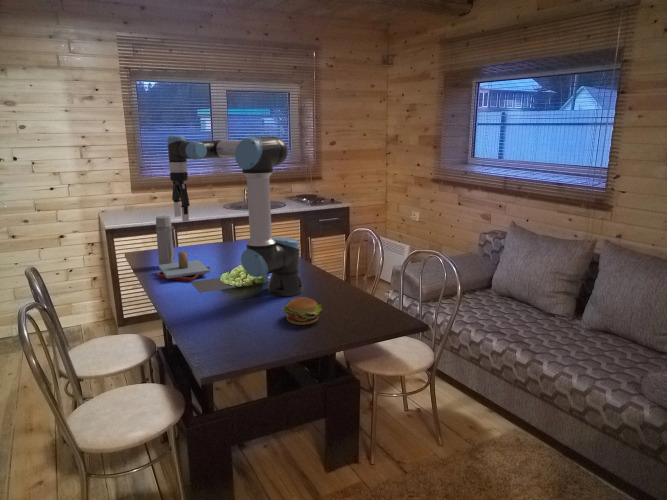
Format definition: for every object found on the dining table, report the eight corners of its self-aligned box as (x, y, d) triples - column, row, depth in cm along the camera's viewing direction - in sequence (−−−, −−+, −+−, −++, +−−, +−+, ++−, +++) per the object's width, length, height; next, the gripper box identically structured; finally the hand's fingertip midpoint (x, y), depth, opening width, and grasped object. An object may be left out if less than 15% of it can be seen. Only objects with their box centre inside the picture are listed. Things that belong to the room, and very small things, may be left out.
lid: (209, 272, 231) (208, 255, 229) (167, 278, 222) (165, 260, 220) (198, 262, 247) (197, 246, 245) (158, 267, 238) (157, 250, 236)
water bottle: (155, 267, 246) (151, 217, 239) (167, 264, 252) (163, 214, 246) (169, 270, 241) (165, 219, 235) (180, 266, 248) (177, 216, 242)
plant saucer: (211, 273, 241) (211, 266, 240) (192, 284, 224) (192, 277, 223) (177, 270, 245) (177, 263, 244) (156, 281, 228) (155, 274, 227)
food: (288, 329, 178) (288, 308, 175) (280, 314, 191) (280, 294, 189) (325, 325, 181) (326, 304, 179) (316, 311, 194) (316, 291, 192)
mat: (237, 288, 219) (237, 286, 219) (200, 293, 211) (200, 292, 211) (225, 277, 232) (224, 276, 232) (190, 283, 224) (190, 282, 224)
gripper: (195, 173, 214) (197, 222, 220) (179, 168, 235) (182, 213, 240) (177, 174, 211) (180, 224, 216) (163, 169, 231) (166, 215, 237)
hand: (181, 218), depth 228 cm, fingers open, 13 cm apart
